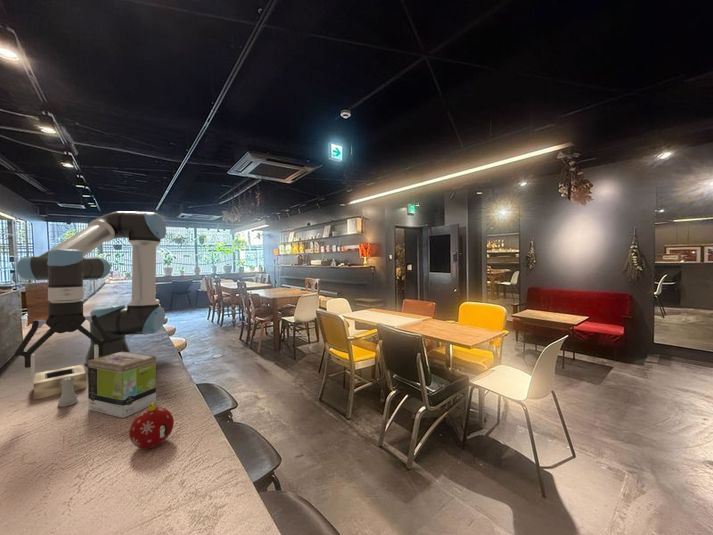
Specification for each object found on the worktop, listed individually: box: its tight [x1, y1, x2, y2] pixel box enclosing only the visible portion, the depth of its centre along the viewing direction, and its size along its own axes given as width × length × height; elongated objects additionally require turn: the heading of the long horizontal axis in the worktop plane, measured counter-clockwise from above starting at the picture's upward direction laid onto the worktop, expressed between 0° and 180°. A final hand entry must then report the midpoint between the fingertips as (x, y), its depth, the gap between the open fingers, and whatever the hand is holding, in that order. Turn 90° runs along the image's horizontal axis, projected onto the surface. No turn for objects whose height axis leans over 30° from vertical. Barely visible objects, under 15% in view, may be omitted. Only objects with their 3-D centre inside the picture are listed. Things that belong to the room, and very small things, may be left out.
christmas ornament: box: [128, 403, 175, 450], centre depth 70 cm, size 9×9×10 cm
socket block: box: [33, 364, 87, 400], centre depth 100 cm, size 12×12×5 cm
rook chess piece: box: [57, 376, 79, 408], centre depth 89 cm, size 4×4×8 cm
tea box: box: [87, 351, 157, 419], centre depth 88 cm, size 15×10×15 cm
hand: (66, 372), depth 89 cm, fingers open, 13 cm apart
